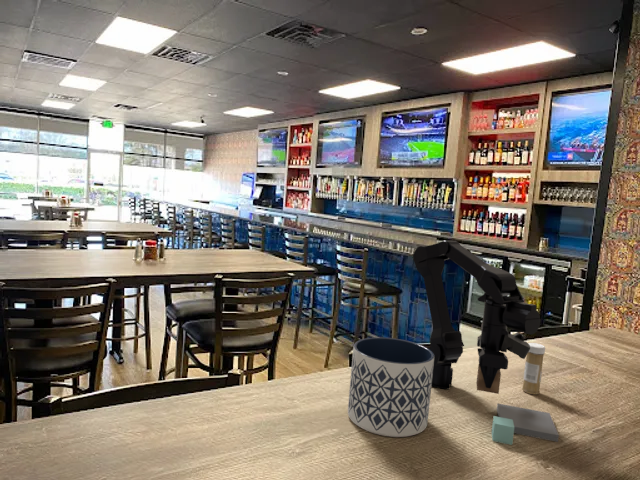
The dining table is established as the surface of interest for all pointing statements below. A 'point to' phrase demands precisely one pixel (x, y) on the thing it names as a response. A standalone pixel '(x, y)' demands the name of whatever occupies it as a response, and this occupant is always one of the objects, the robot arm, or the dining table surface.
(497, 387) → the walnut block
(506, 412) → the slate board
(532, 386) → the sprinkles bottle
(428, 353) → the planter
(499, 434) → the teal block
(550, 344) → the dining table surface
